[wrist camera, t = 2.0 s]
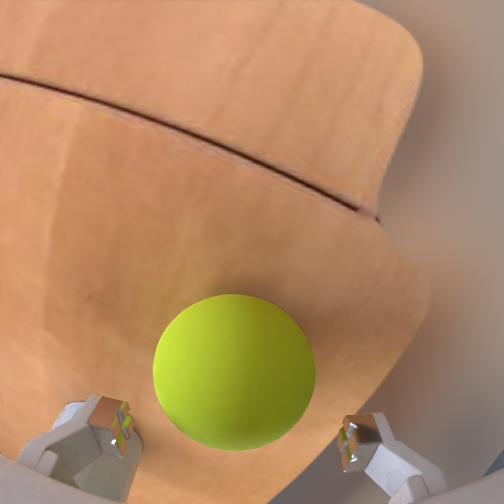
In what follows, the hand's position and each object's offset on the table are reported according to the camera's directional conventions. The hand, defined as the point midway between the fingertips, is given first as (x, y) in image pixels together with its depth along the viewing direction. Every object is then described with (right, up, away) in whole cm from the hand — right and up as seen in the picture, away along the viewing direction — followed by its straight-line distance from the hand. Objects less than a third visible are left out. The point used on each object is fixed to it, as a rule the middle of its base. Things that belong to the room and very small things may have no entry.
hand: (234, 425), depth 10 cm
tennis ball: (0, +1, +2) cm, 2 cm away
